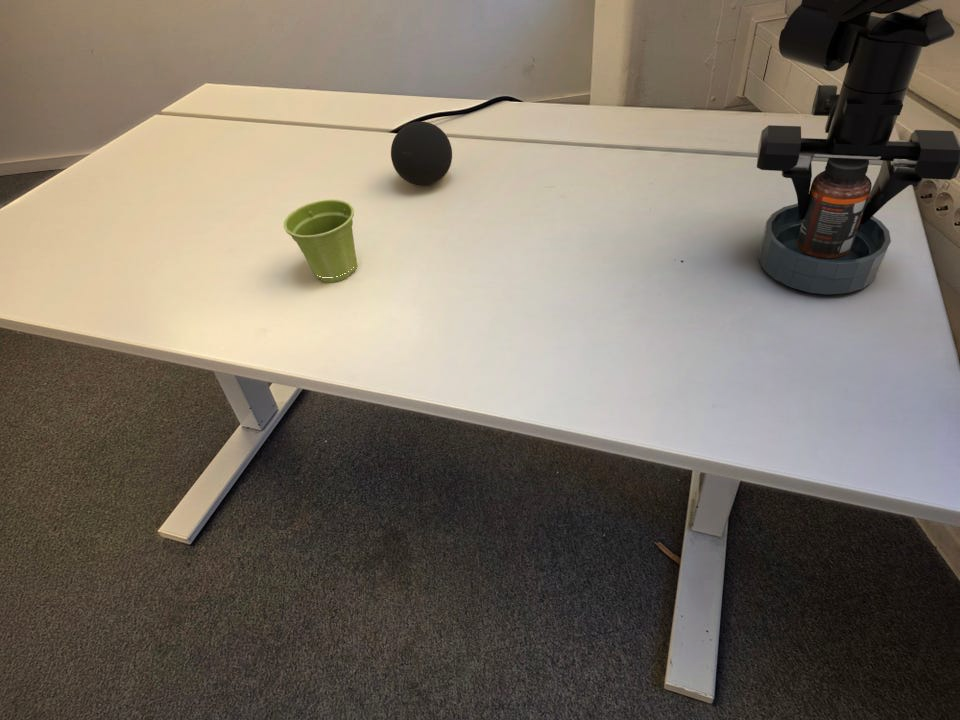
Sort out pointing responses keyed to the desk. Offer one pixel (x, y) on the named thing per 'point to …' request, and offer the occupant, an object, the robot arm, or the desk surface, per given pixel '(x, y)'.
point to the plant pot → (325, 237)
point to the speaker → (421, 153)
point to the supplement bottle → (835, 209)
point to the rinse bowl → (821, 274)
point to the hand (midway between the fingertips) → (830, 220)
